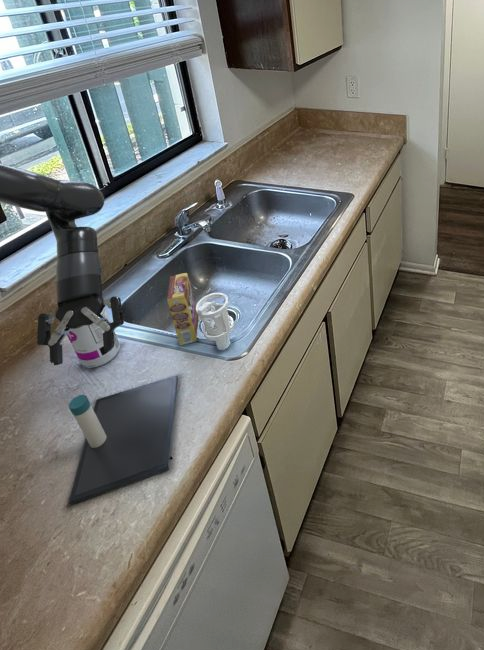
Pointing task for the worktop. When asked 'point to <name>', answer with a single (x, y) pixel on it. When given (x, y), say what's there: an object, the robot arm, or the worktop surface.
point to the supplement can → (92, 344)
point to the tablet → (128, 439)
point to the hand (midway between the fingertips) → (83, 357)
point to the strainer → (216, 320)
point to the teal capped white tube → (87, 420)
